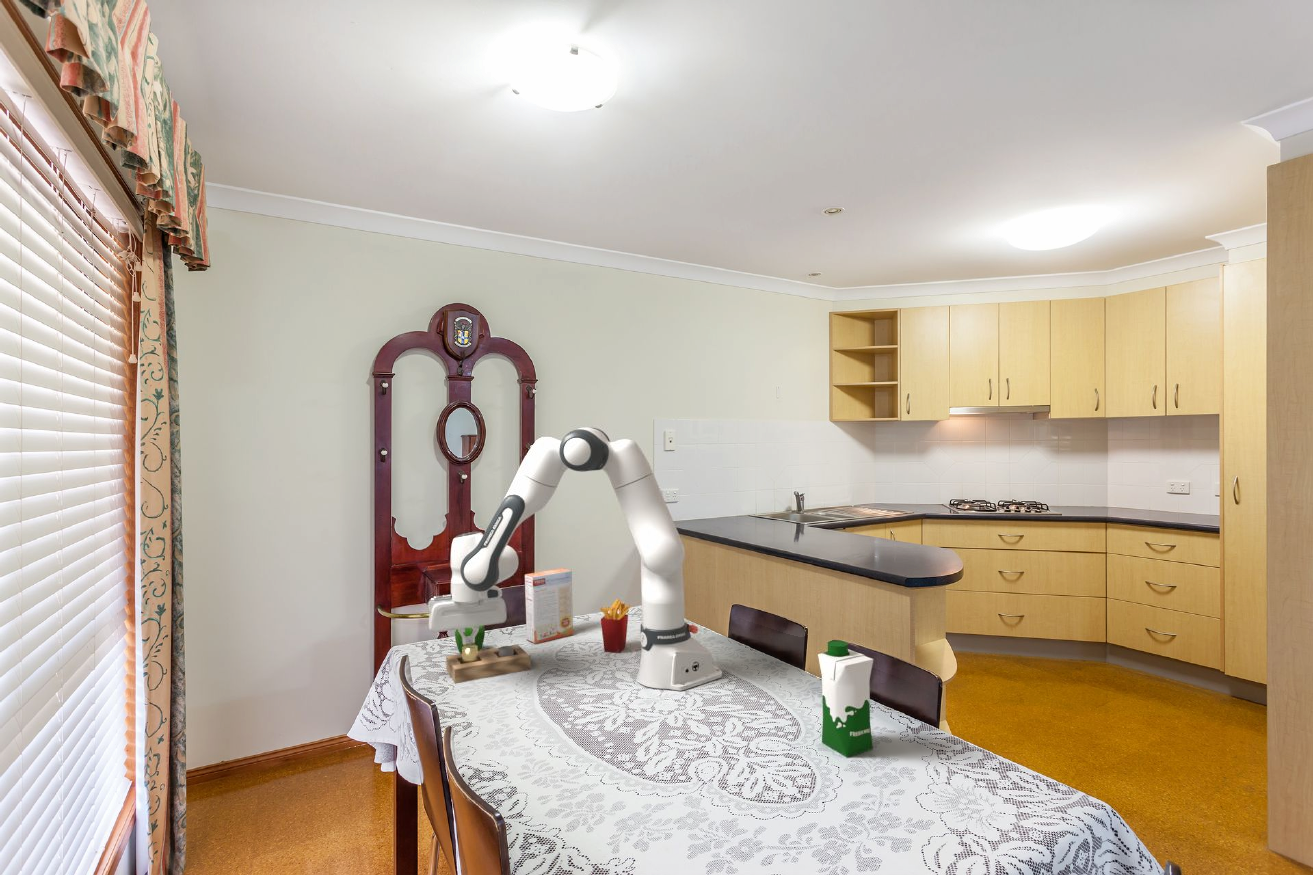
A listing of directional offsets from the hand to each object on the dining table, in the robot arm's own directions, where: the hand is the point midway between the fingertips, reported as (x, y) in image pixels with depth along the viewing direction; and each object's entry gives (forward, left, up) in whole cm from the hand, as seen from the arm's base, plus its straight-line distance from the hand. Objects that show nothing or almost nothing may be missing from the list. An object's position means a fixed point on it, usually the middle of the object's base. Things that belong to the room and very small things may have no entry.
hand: (468, 643), depth 178 cm
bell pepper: (-4, -17, -8) cm, 19 cm away
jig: (-5, 0, -8) cm, 9 cm away
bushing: (0, 0, -8) cm, 8 cm away
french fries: (-43, +3, -8) cm, 44 cm away
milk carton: (-57, +82, -8) cm, 100 cm away
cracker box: (-29, -19, -8) cm, 36 cm away
